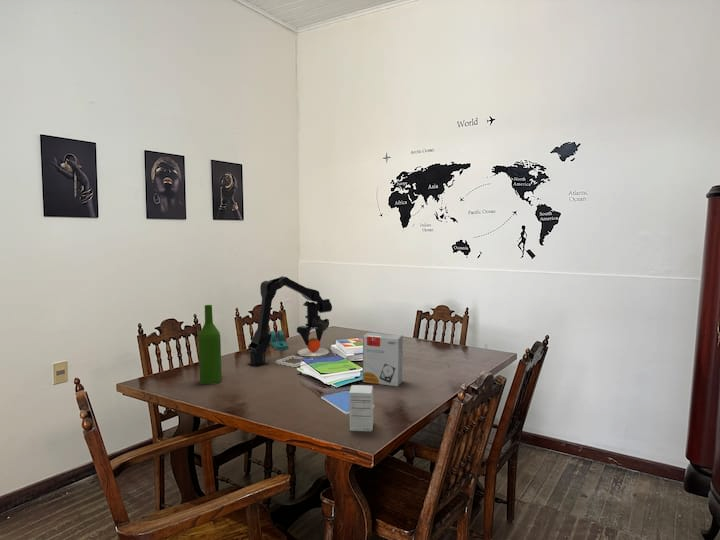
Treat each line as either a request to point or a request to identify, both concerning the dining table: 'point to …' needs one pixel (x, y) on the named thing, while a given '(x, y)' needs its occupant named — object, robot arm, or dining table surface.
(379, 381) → the hard drive box
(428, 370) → the dining table surface
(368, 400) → the supplement box
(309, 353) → the cream plate
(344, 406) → the tablet computer
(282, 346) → the bracket
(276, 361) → the white flat square frame
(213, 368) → the wine bottle
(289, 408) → the dining table surface
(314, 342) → the clementine
